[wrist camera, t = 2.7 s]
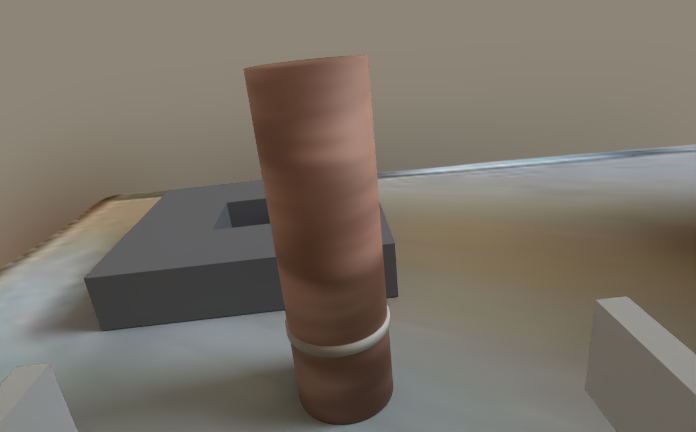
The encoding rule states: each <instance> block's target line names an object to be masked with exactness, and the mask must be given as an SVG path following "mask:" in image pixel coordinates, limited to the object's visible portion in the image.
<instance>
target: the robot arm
mask: <svg viewBox="0 0 696 432" xmlns="http://www.w3.org/2000/svg"><path fill="white" fill-rule="evenodd" d="M585 390H586V392H587V393H588V394H589V396H590V397H591V398H592V400H593V401H594V402H595V404H596V405H597V406H598V408H599V409H600V410H601V411H602V413H603V414H604V415H605V417H606V418H607V419H608V421H609V422H610V423H611V425H612V426H613V427H614V429H615V430H616V431H617V432H696V354H695V353H693V352H692V351H691V350H690V349H689V348H688V347H686V346H685V345H684V344H683V343H682V342H680V341H679V340H678V339H677V338H676V337H674V336H673V335H672V334H671V333H670V332H669V331H667V330H666V329H665V328H664V327H663V326H661V325H660V324H659V323H658V322H657V321H655V320H654V319H653V318H652V317H651V316H649V315H648V314H647V313H646V312H645V311H644V310H642V309H641V308H640V307H639V306H638V305H636V304H635V303H634V302H633V301H632V300H630V299H629V298H628V297H627V296H625V297H617V298H608V299H599V300H596V302H595V310H594V318H593V326H592V335H591V343H590V351H589V359H588V367H587V376H586V384H585ZM0 432H78V431H77V429H76V426H75V424H74V421H73V419H72V416H71V414H70V412H69V409H68V407H67V404H66V402H65V399H64V397H63V395H62V392H61V390H60V387H59V385H58V382H57V380H56V378H55V375H54V373H53V370H52V368H51V365H50V363H45V364H36V365H28V366H19V367H16V368H15V369H14V370H13V371H12V373H11V374H10V375H9V376H8V377H7V378H6V379H5V380H4V381H3V382H2V383H1V385H0Z"/></svg>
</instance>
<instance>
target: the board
mask: <svg viewBox="0 0 696 432" xmlns="http://www.w3.org/2000/svg"><path fill="white" fill-rule="evenodd" d="M379 207H380V221H381V234H382V247H383V260H384V274H385V287H386V298H389V297H398V287H397V272H396V256H395V243H394V240H393V237H392V235H391V232H390V229H389V227H388V224H387V221H386V218H385V216H384V213H383V210H382V208H381V205H380V202H379ZM84 281H85V284H86V286H87V289H88V292H89V295H90V298H91V301H92V304H93V306H94V309H95V312H96V315H97V318H98V321H99V323H100V326H101V329H102V331H104V330H113V329H122V328H130V327H139V326H148V325H156V324H165V323H173V322H182V321H191V320H199V319H208V318H217V317H225V316H234V315H242V314H251V313H260V312H268V311H277V310H285V306H284V301H283V295H282V289H281V283H280V277H279V272H278V266H277V260H276V254H275V248H274V243H273V237H272V231H271V225H270V219H269V214H268V208H267V202H266V196H265V190H264V185H263V180H259V181H250V182H240V183H231V184H222V185H213V186H205V187H204V186H203V187H194V188H185V189H176V190H169V191H168V192H167V193H166V194H165V195H164V196H163V197H162V198H161V199H160V200H159V201H158V202H157V203H156V204H155V205H154V206H153V207H152V208H151V209H150V210H149V211H148V212H147V213H146V214H145V216H144V217H143V218H142V219H141V220H140V221H139V222H138V223H137V224H136V225H135V226H134V227H133V228H132V229H131V230H130V231H129V232H128V233H127V234H126V235H125V236H124V237H123V238H122V239H121V240H120V241H119V242H118V244H117V245H116V246H115V247H114V248H113V249H112V250H111V251H110V252H109V253H108V254H107V255H106V256H105V257H104V258H103V259H102V260H101V261H100V262H99V263H98V264H97V265H96V266H95V267H94V268H93V269H92V270H91V272H90V273H89V274H88V275H87V276H86V277H85V278H84Z"/></svg>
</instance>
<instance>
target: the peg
mask: <svg viewBox="0 0 696 432" xmlns="http://www.w3.org/2000/svg"><path fill="white" fill-rule="evenodd" d="M244 74H245V80H246V86H247V92H248V97H249V103H250V109H251V114H252V121H253V126H254V132H255V138H256V144H257V150H258V155H259V161H260V167H261V173H262V179H263V185H264V190H265V196H266V202H267V208H268V214H269V219H270V225H271V231H272V237H273V243H274V248H275V254H276V260H277V266H278V272H279V277H280V283H281V289H282V295H283V301H284V306H285V312H286V320H285V325H286V331H287V336H288V338H289V341H290V342H291V347H292V353H293V359H294V364H295V370H296V376H297V382H298V388H299V393H300V399H301V403H302V405H303V407H304V408H305V410H306V411H307V412H308V413H309V414H310V415H312V416H313V417H315V418H316V419H318V420H321V421H323V422H327V423H331V424H352V423H357V422H361V421H364V420H366V419H369V418H371V417H372V416H374V415H376V414H377V413H379V412H380V411H381V410H382V409H383V408H384V407H385V406H386V405H387V403H388V402H389V400H390V398H391V396H392V392H393V379H392V366H391V353H390V340H389V326H390V312H389V307H388V305H387V300H386V287H385V274H384V260H383V247H382V234H381V221H380V207H379V194H378V181H377V168H376V155H375V141H374V128H373V117H372V102H371V89H370V76H369V63H368V56H365V55H362V56H361V55H356V56H340V57H327V58H316V59H306V60H297V61H288V62H281V63H273V64H266V65H260V66H254V67H249V68H245V69H244Z"/></svg>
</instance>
